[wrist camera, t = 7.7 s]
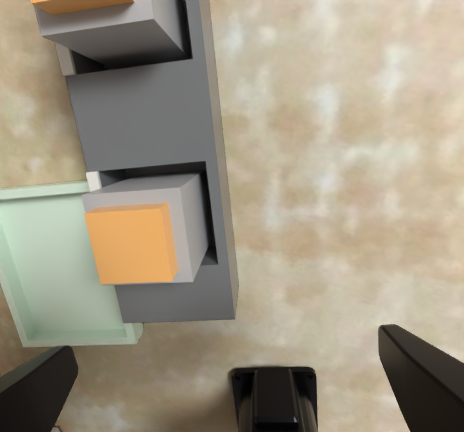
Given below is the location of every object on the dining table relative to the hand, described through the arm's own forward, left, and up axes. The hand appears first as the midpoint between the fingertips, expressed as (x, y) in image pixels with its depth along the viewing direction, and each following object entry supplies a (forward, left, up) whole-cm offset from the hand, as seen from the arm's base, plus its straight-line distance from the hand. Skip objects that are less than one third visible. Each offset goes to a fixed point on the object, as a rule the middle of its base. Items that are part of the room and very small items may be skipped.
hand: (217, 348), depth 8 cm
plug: (+2, +4, -11) cm, 12 cm away
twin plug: (+14, +4, -11) cm, 18 cm away
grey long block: (+6, +4, -12) cm, 14 cm away
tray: (-2, +13, -12) cm, 18 cm away
